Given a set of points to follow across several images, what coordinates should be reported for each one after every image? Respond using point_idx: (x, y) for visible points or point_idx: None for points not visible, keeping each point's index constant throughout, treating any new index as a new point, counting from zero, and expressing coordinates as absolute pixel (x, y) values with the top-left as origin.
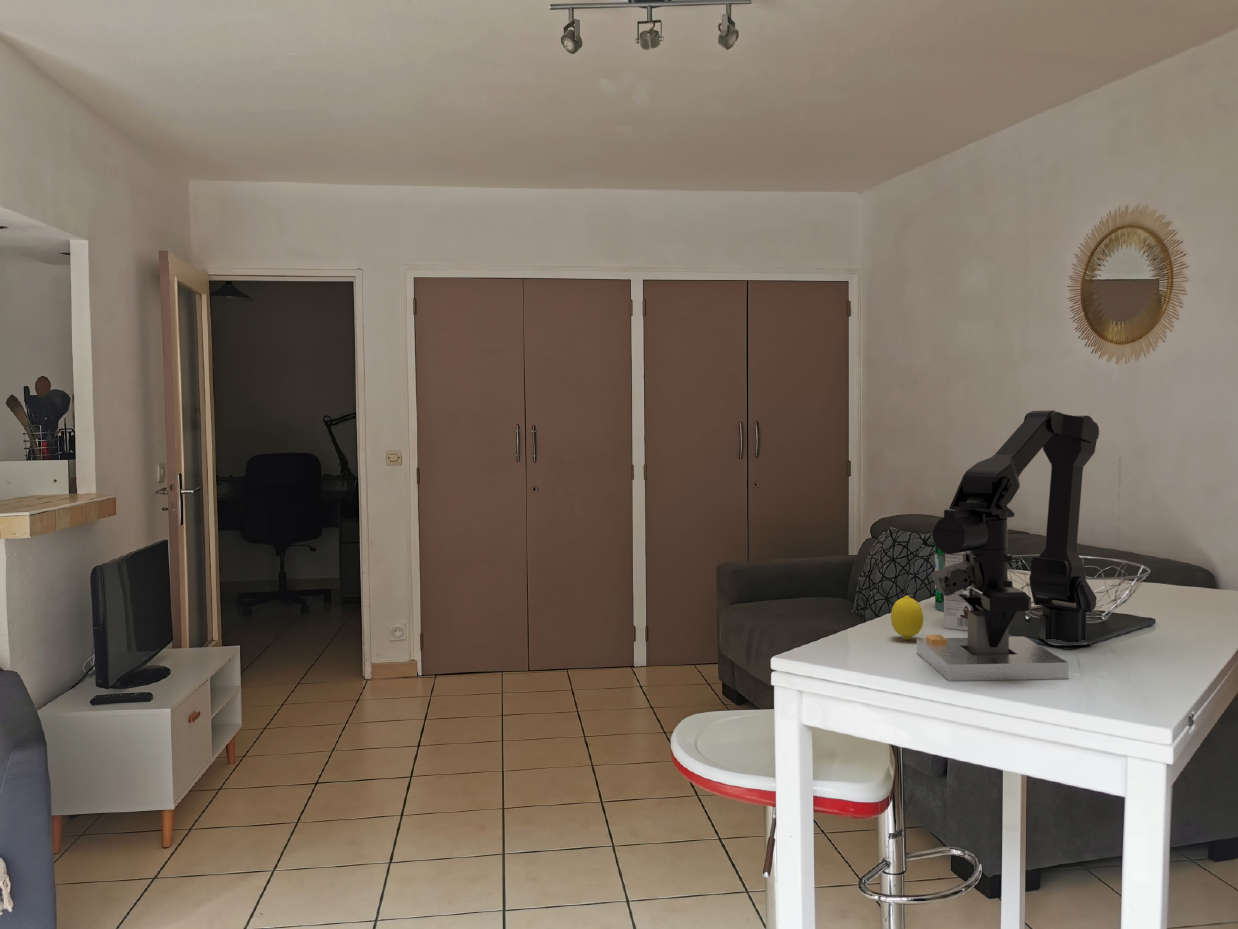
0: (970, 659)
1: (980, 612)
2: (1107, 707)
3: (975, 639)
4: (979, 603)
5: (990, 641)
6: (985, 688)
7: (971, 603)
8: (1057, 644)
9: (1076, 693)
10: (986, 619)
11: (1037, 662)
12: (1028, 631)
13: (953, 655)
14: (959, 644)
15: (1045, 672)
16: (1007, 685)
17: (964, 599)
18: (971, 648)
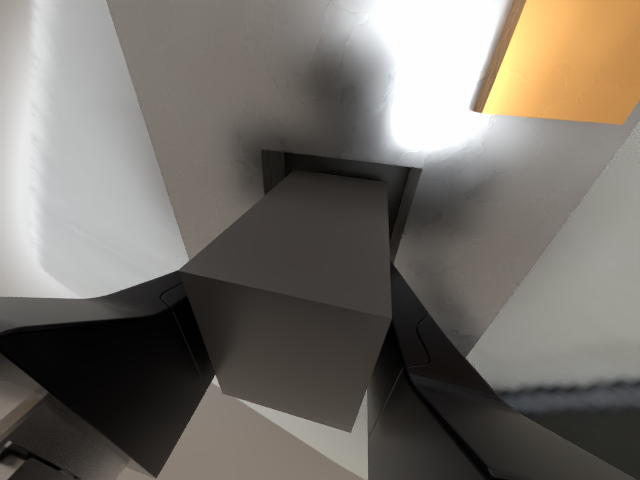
0: (197, 106)
1: (309, 352)
2: (91, 260)
3: (280, 199)
4: (397, 453)
5: None
6: (117, 91)
7: (424, 427)
8: None
9: (147, 262)
10: (164, 292)
11: None
12: (595, 439)
13: (254, 48)
14: (441, 176)
15: None
16: None
17: (483, 470)
18: (341, 186)
